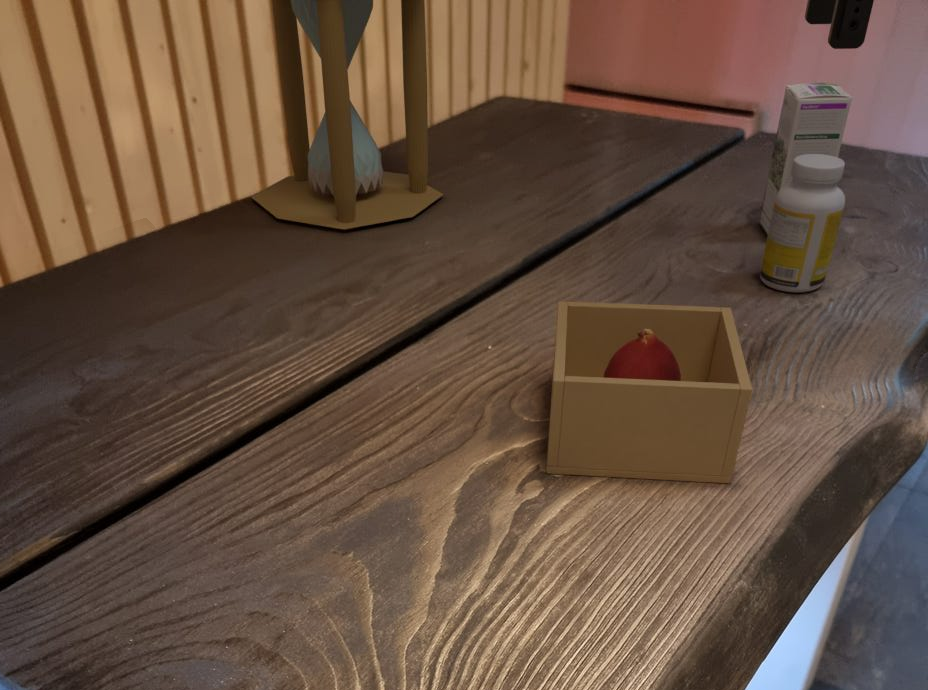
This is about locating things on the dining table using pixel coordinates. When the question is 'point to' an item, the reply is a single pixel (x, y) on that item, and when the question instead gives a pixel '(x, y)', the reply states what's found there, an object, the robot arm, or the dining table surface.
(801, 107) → the syrup box
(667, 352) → the onion
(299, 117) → the hourglass
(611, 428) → the open wooden box
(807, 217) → the pill bottle
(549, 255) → the dining table surface
